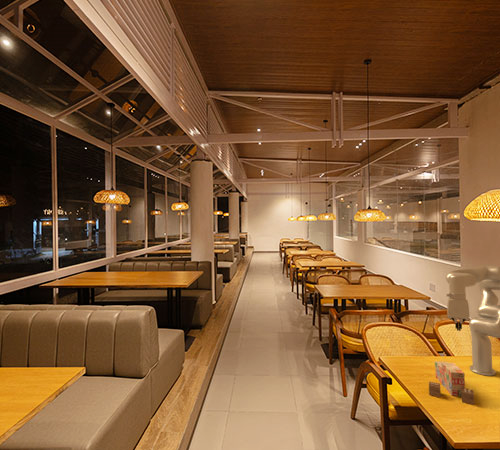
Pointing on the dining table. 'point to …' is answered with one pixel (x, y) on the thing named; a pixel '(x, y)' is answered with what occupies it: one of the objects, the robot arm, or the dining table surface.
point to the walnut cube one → (434, 389)
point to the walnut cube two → (467, 396)
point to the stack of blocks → (450, 377)
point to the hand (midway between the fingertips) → (458, 330)
